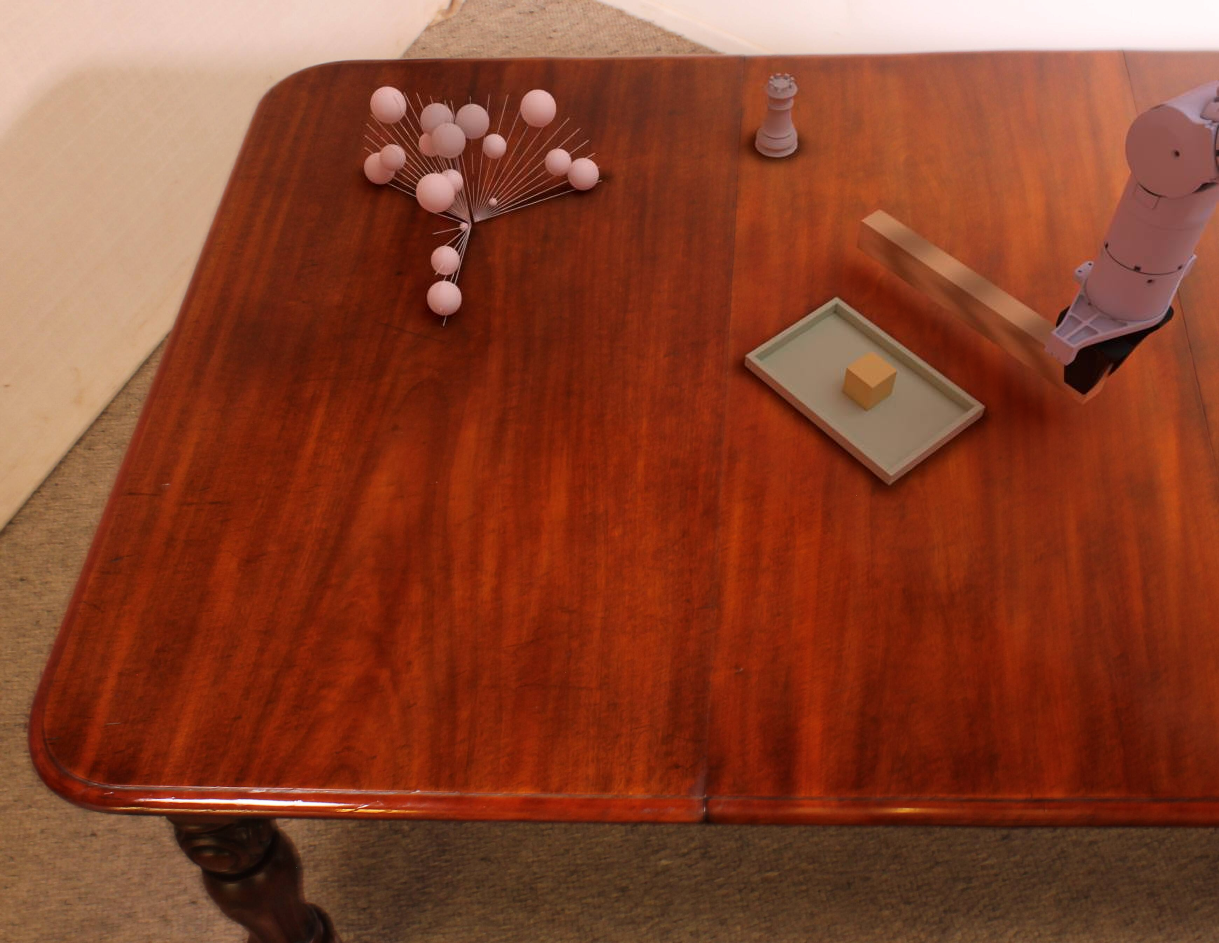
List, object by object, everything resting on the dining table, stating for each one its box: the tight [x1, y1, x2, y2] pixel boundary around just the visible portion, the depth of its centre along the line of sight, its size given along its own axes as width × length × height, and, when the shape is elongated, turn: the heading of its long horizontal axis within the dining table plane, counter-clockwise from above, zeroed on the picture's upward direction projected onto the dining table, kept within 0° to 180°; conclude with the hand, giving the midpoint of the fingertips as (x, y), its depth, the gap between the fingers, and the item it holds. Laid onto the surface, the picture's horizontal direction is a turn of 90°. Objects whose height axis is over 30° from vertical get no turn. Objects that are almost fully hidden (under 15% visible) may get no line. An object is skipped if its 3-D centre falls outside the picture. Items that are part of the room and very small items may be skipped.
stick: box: [856, 209, 1113, 405], centre depth 92 cm, size 25×2×3 cm, turn 38°
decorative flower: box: [363, 86, 601, 326], centre depth 101 cm, size 25×22×14 cm
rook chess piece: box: [754, 72, 798, 159], centre depth 111 cm, size 4×4×8 cm
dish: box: [744, 296, 986, 486], centre depth 92 cm, size 17×11×2 cm, turn 38°
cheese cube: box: [842, 351, 897, 411], centre depth 91 cm, size 3×3×3 cm
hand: (1087, 377), depth 86 cm, fingers closed on stick, 2 cm apart
